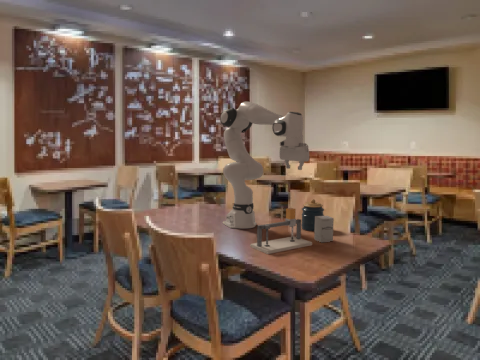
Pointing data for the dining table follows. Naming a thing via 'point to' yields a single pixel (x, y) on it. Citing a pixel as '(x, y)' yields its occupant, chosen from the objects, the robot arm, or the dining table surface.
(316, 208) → the canister
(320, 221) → the supplement box
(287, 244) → the hole plate
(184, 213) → the dining table surface
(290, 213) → the leg
